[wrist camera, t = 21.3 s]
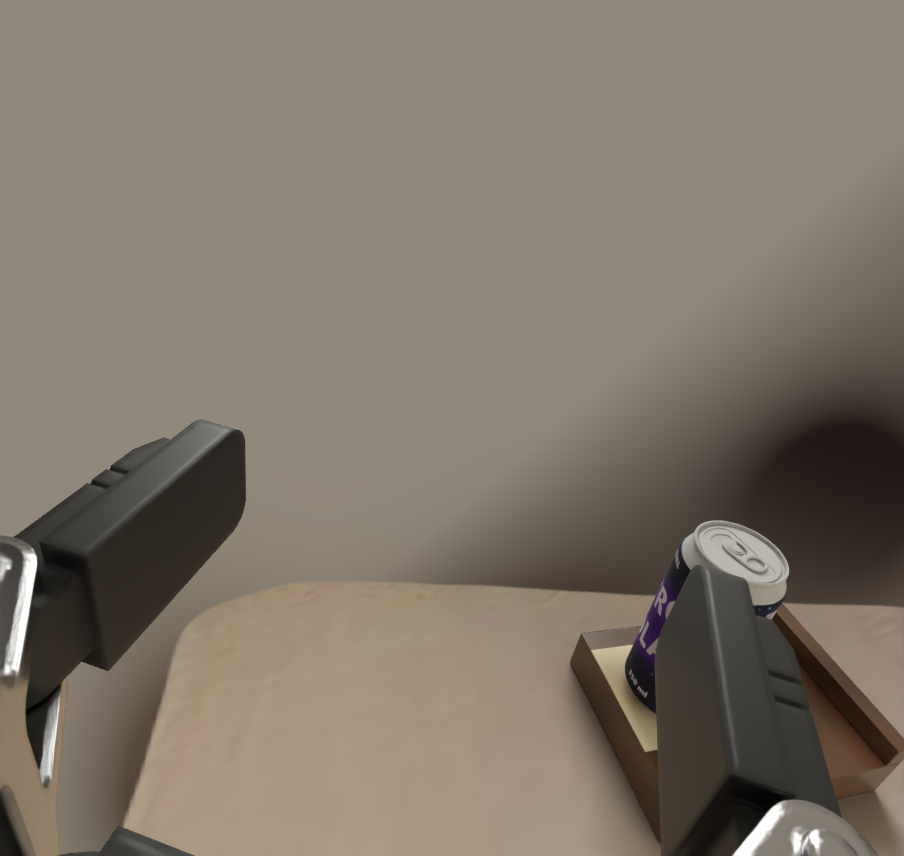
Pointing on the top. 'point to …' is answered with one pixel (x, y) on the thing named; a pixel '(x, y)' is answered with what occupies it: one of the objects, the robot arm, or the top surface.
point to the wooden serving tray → (827, 687)
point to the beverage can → (719, 551)
